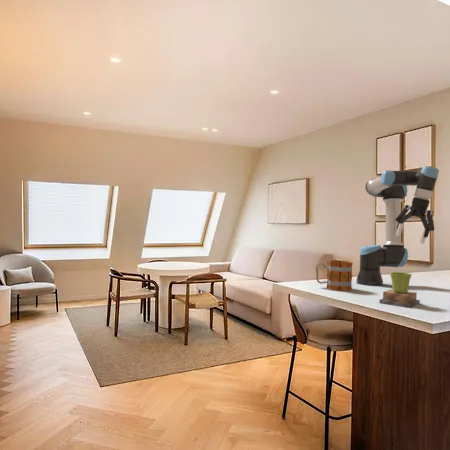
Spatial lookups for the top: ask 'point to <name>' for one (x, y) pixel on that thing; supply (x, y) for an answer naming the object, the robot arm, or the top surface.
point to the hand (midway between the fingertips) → (409, 239)
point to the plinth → (399, 298)
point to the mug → (337, 275)
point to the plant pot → (400, 281)
